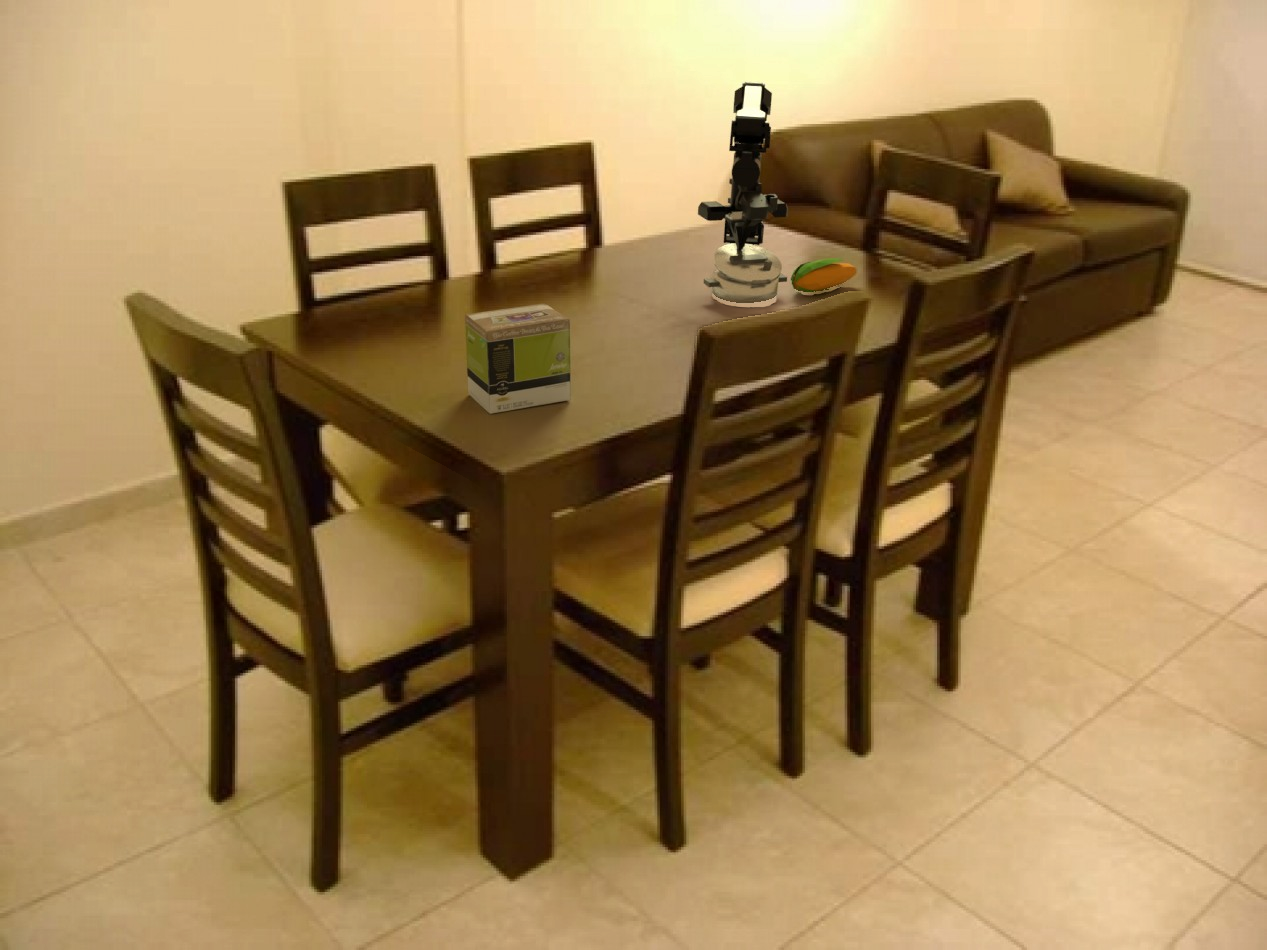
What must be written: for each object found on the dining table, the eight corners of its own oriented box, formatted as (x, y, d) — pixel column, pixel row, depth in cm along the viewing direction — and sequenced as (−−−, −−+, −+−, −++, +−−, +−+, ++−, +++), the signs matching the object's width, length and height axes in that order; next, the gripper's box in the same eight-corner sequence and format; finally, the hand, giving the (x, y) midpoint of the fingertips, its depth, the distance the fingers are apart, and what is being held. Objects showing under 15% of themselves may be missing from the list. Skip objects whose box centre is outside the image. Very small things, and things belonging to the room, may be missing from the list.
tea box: (546, 382, 211) (547, 301, 204) (571, 402, 203) (572, 318, 196) (466, 394, 204) (464, 311, 198) (488, 416, 196) (486, 329, 190)
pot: (692, 291, 262) (694, 269, 260) (768, 286, 268) (770, 264, 266) (718, 311, 251) (720, 287, 248) (796, 304, 257) (799, 281, 254)
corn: (784, 260, 260) (844, 247, 272) (779, 293, 264) (839, 279, 275) (809, 270, 255) (870, 256, 267) (803, 304, 259) (864, 289, 271)
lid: (703, 248, 259) (705, 238, 257) (764, 245, 263) (767, 234, 262) (729, 287, 248) (731, 277, 247) (792, 283, 253) (795, 272, 252)
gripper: (720, 186, 242) (715, 262, 249) (803, 183, 248) (795, 257, 255) (699, 174, 251) (694, 247, 258) (779, 171, 257) (772, 243, 264)
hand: (739, 249), depth 259 cm, fingers closed, pressing on lid
